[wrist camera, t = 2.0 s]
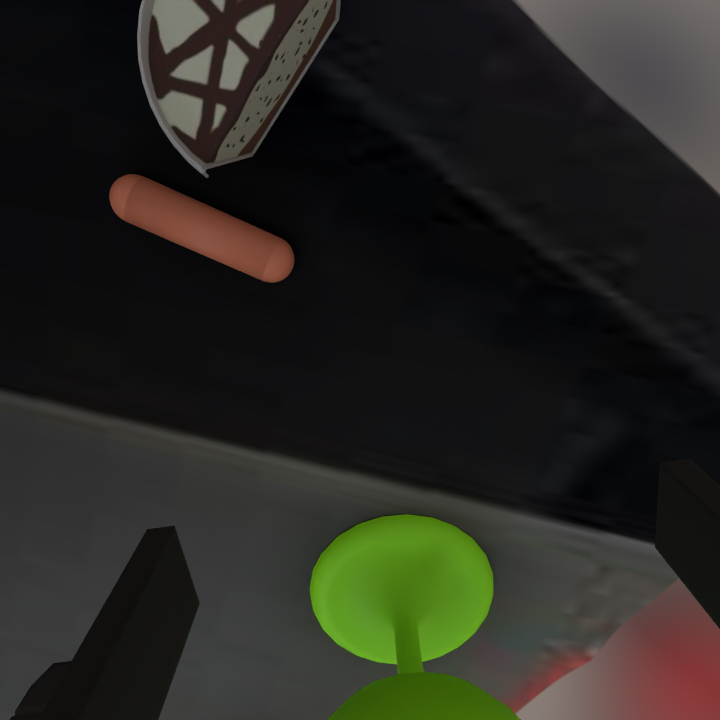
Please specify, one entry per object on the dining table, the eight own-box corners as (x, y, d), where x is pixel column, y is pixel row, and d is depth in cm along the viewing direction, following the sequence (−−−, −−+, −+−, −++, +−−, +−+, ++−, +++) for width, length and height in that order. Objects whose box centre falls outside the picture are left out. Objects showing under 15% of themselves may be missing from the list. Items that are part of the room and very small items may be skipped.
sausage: (116, 210, 34) (95, 213, 32) (128, 165, 33) (108, 165, 31) (286, 284, 36) (281, 294, 33) (303, 244, 35) (298, 250, 32)
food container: (265, -83, 29) (221, -204, 20) (354, -5, 30) (353, -83, 21) (155, 113, 32) (73, 90, 23) (240, 176, 34) (195, 179, 24)
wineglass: (407, 479, 42) (443, 691, 25) (531, 592, 46) (635, 841, 29) (271, 591, 45) (221, 842, 28) (396, 686, 49) (418, 956, 32)
